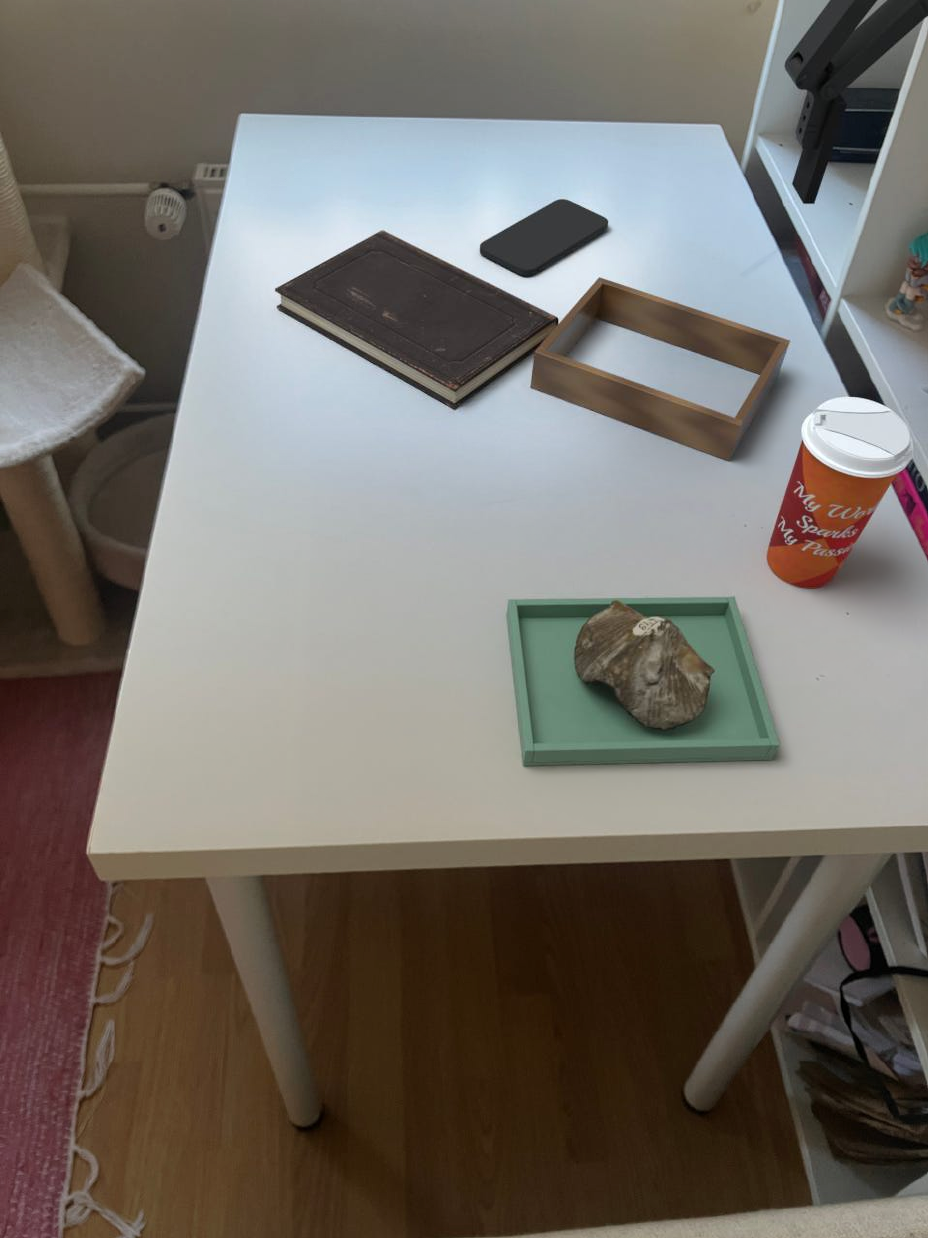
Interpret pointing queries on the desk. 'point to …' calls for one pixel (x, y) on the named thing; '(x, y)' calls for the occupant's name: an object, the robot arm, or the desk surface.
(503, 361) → the hardcover book
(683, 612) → the tray
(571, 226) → the phone
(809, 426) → the paper cup
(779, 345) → the rectangular frame
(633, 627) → the fossilized seashell
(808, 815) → the desk surface
